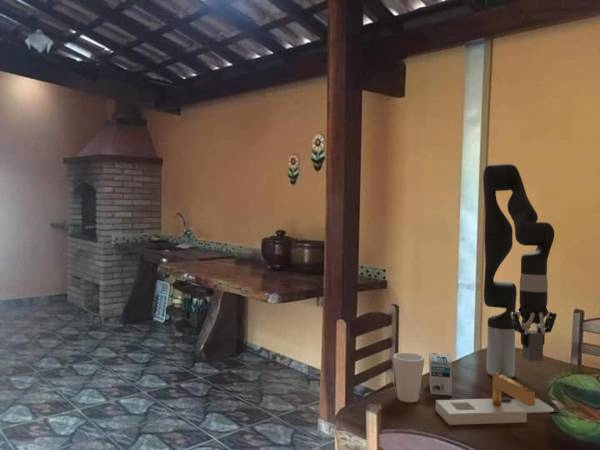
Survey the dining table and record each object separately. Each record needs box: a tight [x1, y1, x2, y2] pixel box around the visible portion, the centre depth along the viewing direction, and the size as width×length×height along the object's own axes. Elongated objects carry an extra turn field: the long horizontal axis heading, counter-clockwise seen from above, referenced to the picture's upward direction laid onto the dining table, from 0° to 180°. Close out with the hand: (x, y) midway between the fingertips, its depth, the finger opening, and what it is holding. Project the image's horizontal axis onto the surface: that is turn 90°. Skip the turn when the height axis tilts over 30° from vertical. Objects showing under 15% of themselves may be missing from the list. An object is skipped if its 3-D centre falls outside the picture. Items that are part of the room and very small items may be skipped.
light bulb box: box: [428, 352, 453, 397], centre depth 162 cm, size 11×7×11 cm, turn 168°
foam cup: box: [392, 352, 425, 403], centre depth 153 cm, size 10×9×13 cm
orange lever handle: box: [491, 372, 536, 406], centre depth 134 cm, size 2×16×9 cm, turn 11°
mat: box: [510, 398, 555, 414], centre depth 148 cm, size 10×10×1 cm
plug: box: [521, 330, 544, 362], centre depth 148 cm, size 4×4×8 cm
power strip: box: [435, 396, 528, 426], centre depth 140 cm, size 10×22×4 cm, turn 96°
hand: (532, 346), depth 148 cm, fingers closed on plug, 4 cm apart
